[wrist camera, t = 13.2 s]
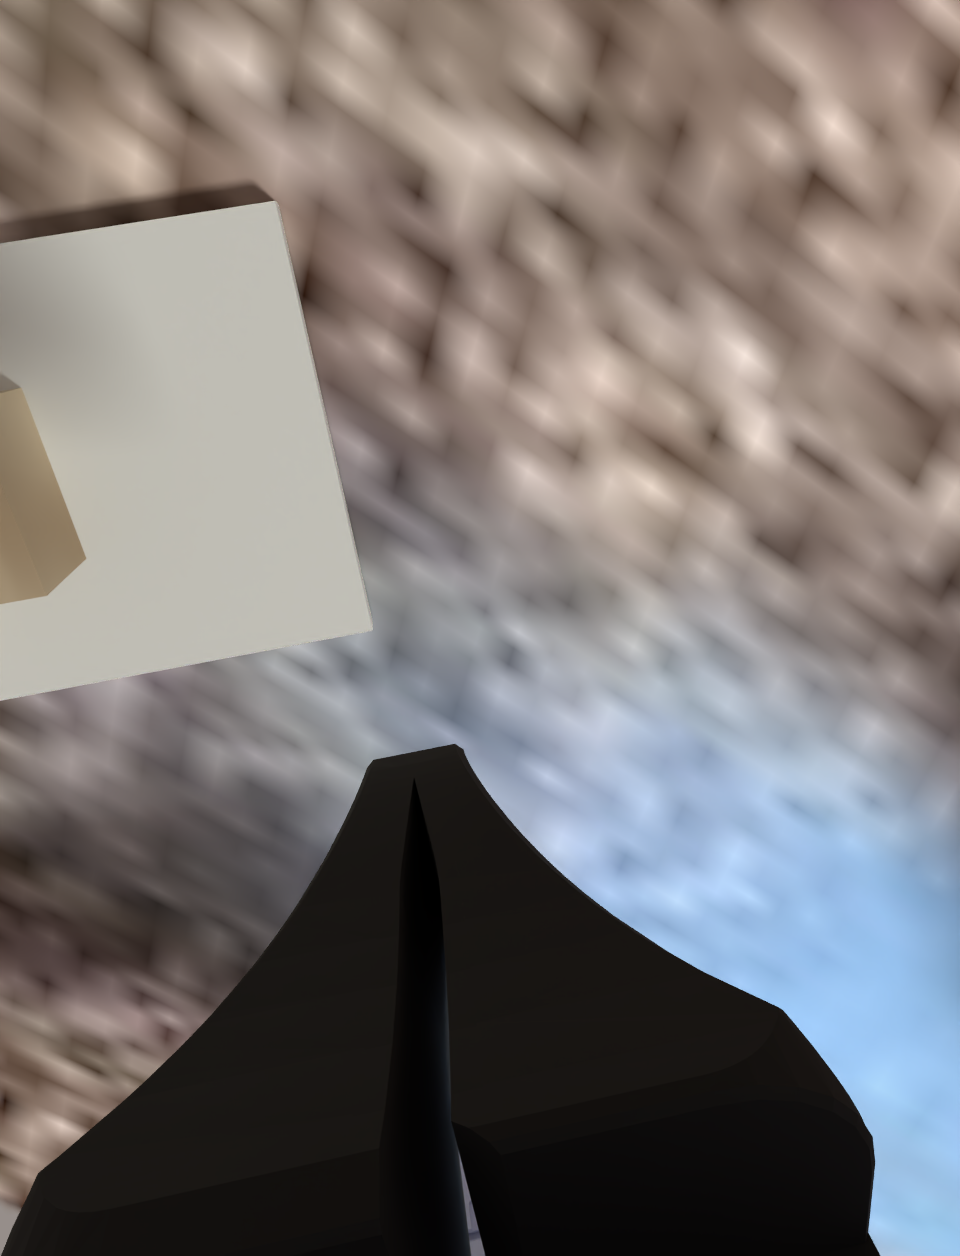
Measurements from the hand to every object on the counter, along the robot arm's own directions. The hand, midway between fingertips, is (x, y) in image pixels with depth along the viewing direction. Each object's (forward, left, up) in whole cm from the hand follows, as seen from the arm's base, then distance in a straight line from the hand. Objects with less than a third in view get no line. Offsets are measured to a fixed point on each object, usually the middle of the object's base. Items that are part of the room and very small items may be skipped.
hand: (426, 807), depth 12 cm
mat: (+4, +8, -10) cm, 13 cm away
